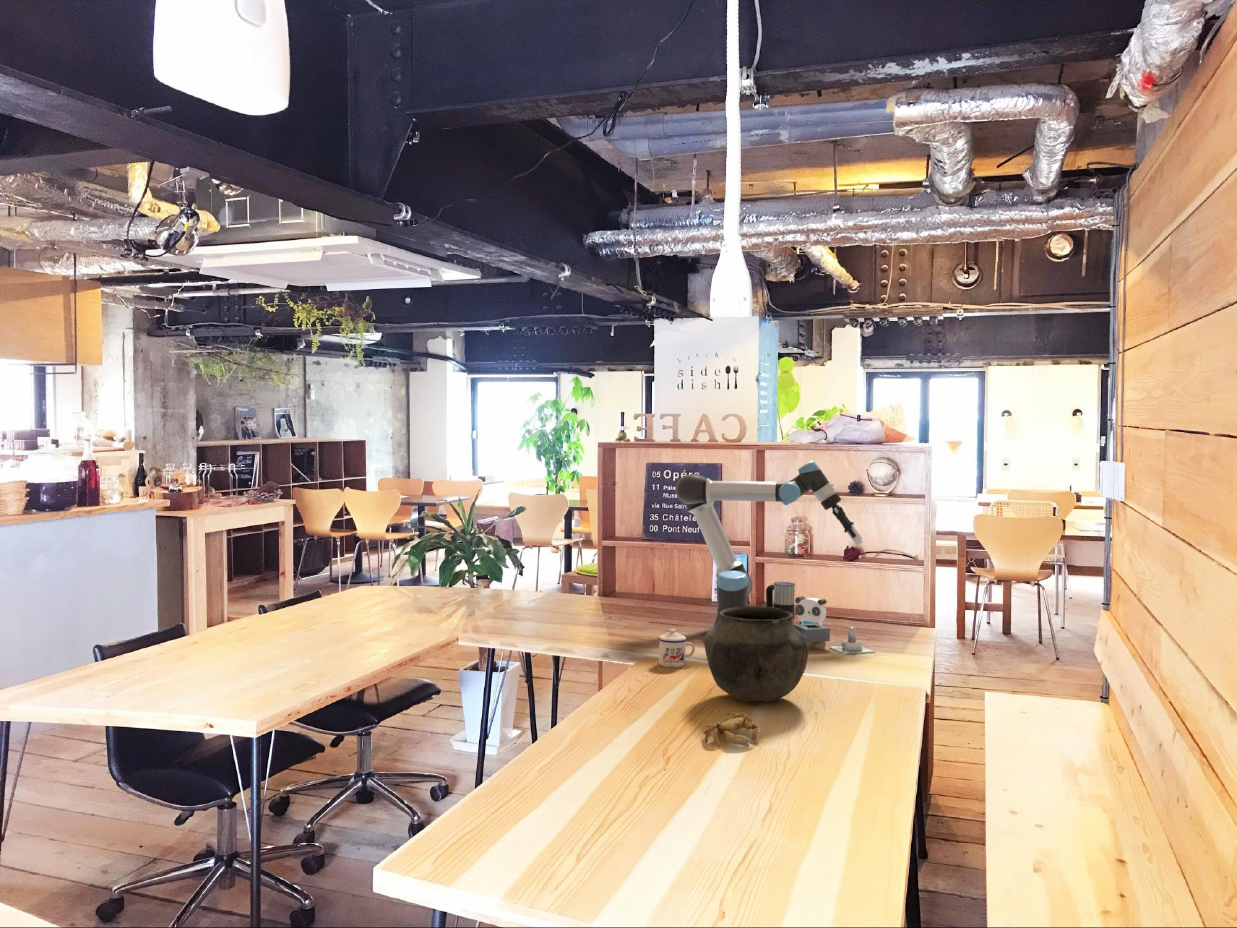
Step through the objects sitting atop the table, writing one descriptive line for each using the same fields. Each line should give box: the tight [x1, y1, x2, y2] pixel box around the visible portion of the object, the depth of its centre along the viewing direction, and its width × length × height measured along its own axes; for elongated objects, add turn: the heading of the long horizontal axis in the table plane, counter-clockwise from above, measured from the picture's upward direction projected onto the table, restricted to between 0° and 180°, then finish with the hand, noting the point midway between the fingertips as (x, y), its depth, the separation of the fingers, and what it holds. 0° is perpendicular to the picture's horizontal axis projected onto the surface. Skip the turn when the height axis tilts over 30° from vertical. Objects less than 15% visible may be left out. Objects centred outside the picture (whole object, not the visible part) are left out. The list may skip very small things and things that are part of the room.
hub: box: [828, 626, 876, 655], centre depth 320 cm, size 12×11×8 cm
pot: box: [703, 605, 809, 703], centre depth 255 cm, size 29×32×25 cm
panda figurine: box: [794, 595, 828, 625], centre depth 342 cm, size 12×11×15 cm
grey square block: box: [793, 623, 831, 642], centre depth 324 cm, size 10×10×4 cm
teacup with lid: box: [658, 628, 696, 669], centre depth 296 cm, size 12×9×12 cm
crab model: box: [702, 711, 761, 748], centre depth 220 cm, size 16×13×6 cm
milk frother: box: [765, 581, 796, 619], centre depth 379 cm, size 14×16×15 cm
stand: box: [807, 641, 826, 651], centre depth 324 cm, size 7×7×6 cm
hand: (859, 542), depth 348 cm, fingers open, 13 cm apart
